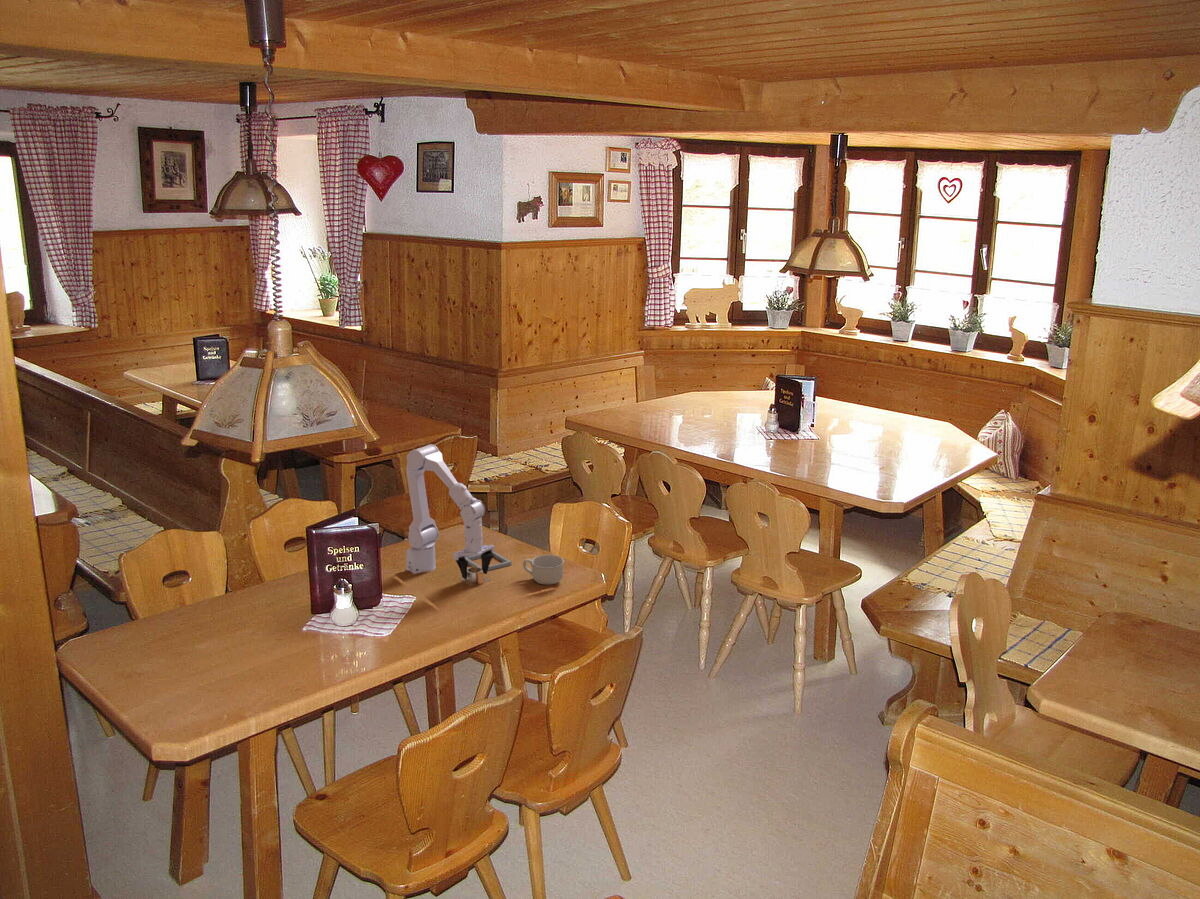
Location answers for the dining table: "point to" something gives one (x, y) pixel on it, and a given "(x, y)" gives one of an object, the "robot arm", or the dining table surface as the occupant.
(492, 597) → the dining table surface
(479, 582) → the ring
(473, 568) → the tan peg stand
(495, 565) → the tray
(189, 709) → the dining table surface
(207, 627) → the dining table surface
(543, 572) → the teacup
